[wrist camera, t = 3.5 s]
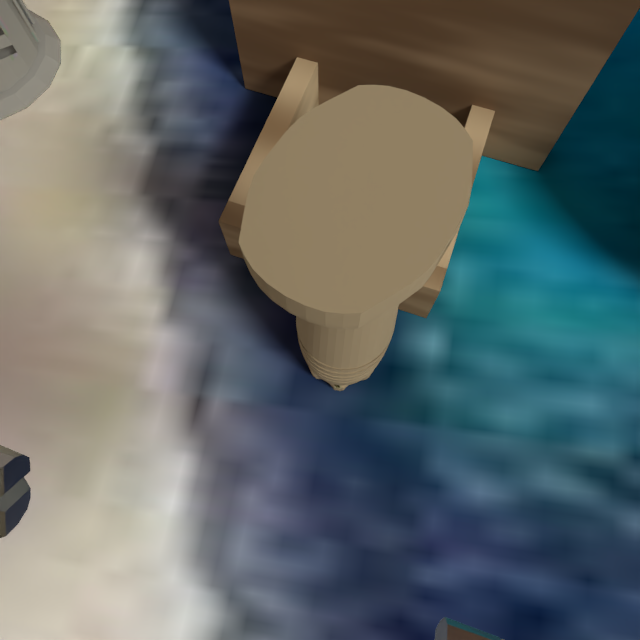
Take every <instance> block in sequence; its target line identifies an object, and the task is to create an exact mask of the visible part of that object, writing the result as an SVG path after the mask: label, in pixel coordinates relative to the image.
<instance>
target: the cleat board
mask: <svg viewBox="0 0 640 640" xmlns="http://www.w3.org/2000/svg"><path fill="white" fill-rule="evenodd" d="M229 3H230V9H231V14H232V19H233V25H234V30H235V36H236V41H237V46H238V52H239V57H240V63H241V68H242V73H243V79H244V84H245V88H246V89H249V90H253V91H256V92H260V93H263V94H267V95H271V96H274V97H278V98H277V100H276V102H275V104H274V106H273V108H272V111H271V113H270V115H269V117H268V119H267V121H266V123H265V125H264V127H263V129H262V131H261V133H260V136H259V138H258V140H257V142H256V144H255V146H254V148H253V150H252V152H251V154H250V156H249V159H248V161H247V163H246V165H245V167H244V169H243V171H242V173H241V175H240V177H239V179H238V181H237V184H236V186H235V188H234V190H233V192H232V194H231V196H230V198H229V200H228V202H227V204H226V206H225V209H224V211H223V213H222V215H221V217H220V219H219V224H220V227H221V229H222V232H223V235H224V238H225V241H226V243H227V246H228V249H229V252H230V254H231V255H233V256H237V257H240V258H243V259H244V257H243V255H242V252H241V249H240V245H239V237H240V231H241V225H242V220H243V214H244V209H245V204H246V199H247V195H248V191H249V188H250V185H251V182H252V179H253V176H254V174H255V173H256V171H257V169H258V168H259V166H260V165H261V163H262V161H263V160H264V159H265V157H266V156H267V155H268V153H269V152H270V151H271V150H272V148H273V147H274V146H275V145H276V143H277V142H278V141H279V140H280V138H281V137H282V136H283V135H284V133H285V132H286V131H287V130H288V129H289V128H290V127H291V126H292V125H293V124H294V123H295V122H296V121H297V120H298V119H299V118H300V117H301V116H303V115H304V114H306V113H307V112H309V111H310V110H312V109H313V108H315V107H317V106H319V105H320V104H322V103H324V102H326V101H328V100H330V99H332V98H334V97H336V96H338V95H340V94H342V93H344V92H346V91H348V90H350V89H352V88H354V87H356V86H358V85H384V86H391V87H395V88H399V89H403V90H407V91H409V92H412V93H414V94H417V95H419V96H422V97H424V98H426V99H428V100H430V101H431V102H433V103H435V104H437V105H439V106H440V107H442V108H443V109H445V110H446V111H447V112H448V113H450V114H451V115H452V116H454V117H455V118H456V119H457V120H458V121H459V122H460V124H461V125H462V126H463V127H464V128H465V129H466V131H467V133H468V134H469V136H470V137H471V139H472V140H473V168H472V185H473V182H474V179H475V175H476V172H477V169H478V165H479V162H480V159H481V156H482V155H483V156H486V157H490V158H493V159H497V160H500V161H504V162H507V163H511V164H514V165H518V166H521V167H525V168H528V169H532V170H536V171H538V170H539V169H540V167H541V165H542V164H543V162H544V161H545V159H546V157H547V156H548V154H549V153H550V151H551V149H552V148H553V146H554V145H555V143H556V141H557V140H558V138H559V136H560V135H561V133H562V132H563V130H564V128H565V127H566V125H567V124H568V122H569V120H570V119H571V117H572V116H573V114H574V112H575V111H576V109H577V108H578V106H579V104H580V103H581V101H582V100H583V98H584V96H585V95H586V93H587V92H588V90H589V88H590V87H591V85H592V84H593V82H594V80H595V79H596V77H597V75H598V74H599V72H600V71H601V69H602V67H603V66H604V64H605V63H606V61H607V59H608V58H609V56H610V55H611V53H612V51H613V50H614V48H615V47H616V45H617V43H618V42H619V40H620V39H621V37H622V35H623V34H624V32H625V31H626V29H627V27H628V26H629V24H630V22H631V21H632V19H633V18H634V16H635V14H636V13H637V11H638V10H639V8H640V0H229ZM459 228H460V227H459ZM458 231H459V229H458ZM458 231H457V233H456V235H455V236H454V238H453V240H452V242H451V244H450V245H449V247H448V249H447V250H446V252H445V254H444V255H443V257H442V259H441V260H440V262H439V264H438V265H437V267H436V268H435V270H434V271H433V273H432V275H431V276H430V278H429V279H428V280H427V282H426V283H425V284H424V285H423V287H422V288H421V289H419V290H418V291H417V292H415V293H414V294H412V295H411V296H410V297H408V298H407V299H406V300H404V301H403V302H402V303H400V304H399V307H398V309H400V310H403V311H406V312H409V313H412V314H415V315H418V316H421V317H424V318H427V316H428V314H429V312H430V310H431V308H432V306H433V304H434V302H435V300H436V298H437V296H438V294H439V292H440V290H441V287H442V283H443V280H444V277H445V274H446V270H447V267H448V264H449V260H450V257H451V254H452V251H453V247H454V244H455V241H456V238H457V234H458Z"/></svg>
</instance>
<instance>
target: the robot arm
mask: <svg viewBox="0 0 640 640" xmlns="http://www.w3.org/2000/svg"><path fill="white" fill-rule="evenodd" d="M28 472H30V460H29V457H27V456H25V455H22V454H20V453H18V452H15V451H13V450H11V449H8V448H6V447H4V446H1V445H0V538H2V537H5V536H6V535H7V534H8V533H9V532H10V531H11V530H12V529H13V528H14V527H15V526H16V525H17V524H18V523H19V521H20V520H21V518H22V516H23V515H24V513H25V512H26V510H27V507H28V504H29V501H30V487H29V485H28V483H27V482H26V480H25V479H24V476H25V475H26V474H27V473H28ZM435 640H503V639H500V638H499V637H497V636H494V635H492V634H489V633H486V632H484V631H481V630H478V629H476V628H473V627H470V626H468V625H465V624H462V623H459V622H457V621H454V620H451V619H449V618H446V617H444V618H443V619H442V620H440V622H439V624H438V626H437V628H436V631H435Z"/></svg>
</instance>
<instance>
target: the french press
mask: <svg viewBox="0 0 640 640" xmlns="http://www.w3.org/2000/svg"><path fill="white" fill-rule="evenodd" d="M60 64H61V47H60V39H59V37H58V36H57V34H56V33H55V31H54V29H53V28H52V26H51V25H50V23H49V21H47V20H45V19H44V18H42V17H40V16H38V15H37V14H35V13H33V12H32V11H30V10H28V9H27V8H26V6H25V4H24V3H23V1H22V0H0V120H2V119H4V118H6V117H8V116H11V115H13V114H15V113H17V112H19V111H21V110H23V109H25V108H27V107H28V106H29V105H30V104H31V103H33V102H34V101H35V100H36V99H37V98H38V97H39V96H40V95H41V94H42V93H43V92H44V91H46V90H47V89H48V88H49V87H50V85H51V82H52V80H53V78H54V76H55V74H56V72H57V70H58V68H59V66H60Z"/></svg>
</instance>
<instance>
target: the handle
mask: <svg viewBox="0 0 640 640" xmlns="http://www.w3.org/2000/svg"><path fill="white" fill-rule="evenodd" d="M472 168H473V140H472V139H471V137H470V136H469V134H468V133H467V131H466V129H465V128H464V127H463V126H462V125H461V124H460V122H459V121H458V120H457V119H456V118H455V117H454V116H452V115H451V114H450V113H448V112H447V111H446V110H445V109H443V108H442V107H440V106H439V105H437V104H435V103H433V102H431V101H430V100H428V99H426V98H424V97H422V96H419V95H417V94H414V93H412V92H409V91H407V90H403V89H399V88H395V87H391V86H384V85H358V86H356V87H354V88H352V89H350V90H348V91H346V92H344V93H342V94H340V95H338V96H336V97H334V98H332V99H330V100H328V101H326V102H324V103H322V104H320V105H319V106H317V107H315V108H313V109H312V110H310V111H309V112H307V113H306V114H304V115H303V116H301V117H300V118H299V119H298V120H297V121H296V122H295V123H294V124H293V125H292V126H291V127H290V128H289V129H288V130H287V131H286V132H285V133H284V135H283V136H282V137H281V138H280V140H279V141H278V142H277V143H276V145H275V146H274V147H273V148H272V150H271V151H270V152H269V153H268V155H267V156H266V157H265V159H264V160H263V161H262V163H261V165H260V166H259V168H258V169H257V171H256V173H255V174H254V176H253V179H252V182H251V185H250V188H249V191H248V195H247V199H246V204H245V209H244V214H243V220H242V225H241V231H240V237H239V245H240V249H241V252H242V255H243V257H244V260H245V262H246V265H247V267H248V269H249V271H250V273H251V275H252V277H253V278H254V280H255V281H256V283H257V285H258V286H259V288H260V289H261V290H262V291H263V292H264V293H265V294H266V295H267V296H268V297H269V298H270V299H271V300H272V301H274V302H275V303H276V304H278V305H279V306H281V307H282V308H284V309H285V310H286V311H288V312H289V313H291V314H293V315H295V316H296V327H297V334H298V341H299V345H300V348H301V351H302V354H303V356H304V358H305V361H306V363H307V364H308V366H309V369H310V371H311V373H312V375H313V376H314V377H315V378H316V379H322V380H324V381H326V382H327V383H329V384H330V385H331V386H332V387H333V389H334V390H338V391H343V390H344V389H345V388H346V387H347V386H348V385H351V384H354V383H357V382H359V381H361V380H366V379H367V378H368V377H369V376H370V375H371V374H372V372H373V371H374V369H375V368H376V366H377V365H378V363H379V362H380V360H381V359H382V357H383V355H384V353H385V351H386V349H387V347H388V345H389V343H390V340H391V338H392V335H393V332H394V327H395V322H396V317H397V312H398V307H399V304H400V303H402V302H403V301H404V300H406V299H407V298H408V297H410V296H411V295H412V294H414V293H415V292H417V291H418V290H419V289H421V288H422V287H423V285H424V284H425V283H426V282H427V280H428V279H429V278H430V276H431V275H432V273H433V271H434V270H435V268H436V267H437V265H438V264H439V262H440V260H441V259H442V257H443V255H444V254H445V252H446V250H447V249H448V247H449V245H450V244H451V242H452V240H453V238H454V236H455V235H456V233H457V231H458V229H459V227H460V225H461V222H462V220H463V217H464V215H465V212H466V210H467V207H468V204H469V199H470V194H471V188H472Z"/></svg>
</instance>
